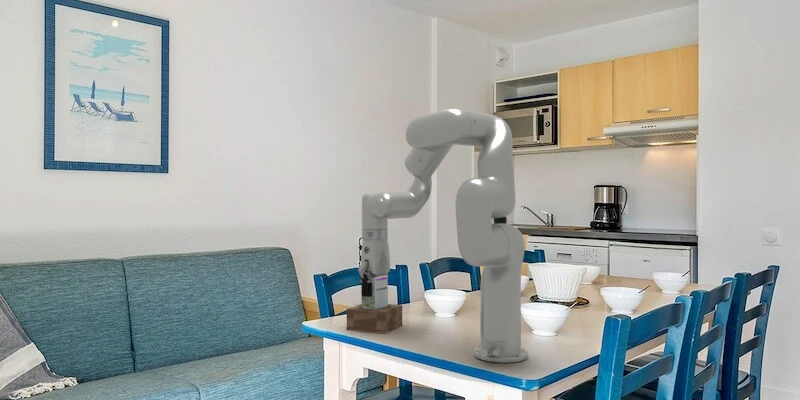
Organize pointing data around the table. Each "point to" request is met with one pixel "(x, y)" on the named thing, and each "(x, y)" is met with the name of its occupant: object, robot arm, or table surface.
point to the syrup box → (377, 294)
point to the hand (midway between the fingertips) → (374, 294)
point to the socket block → (374, 319)
